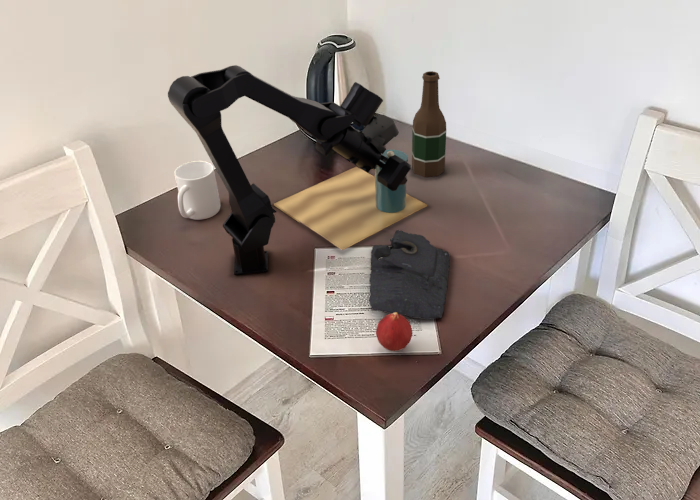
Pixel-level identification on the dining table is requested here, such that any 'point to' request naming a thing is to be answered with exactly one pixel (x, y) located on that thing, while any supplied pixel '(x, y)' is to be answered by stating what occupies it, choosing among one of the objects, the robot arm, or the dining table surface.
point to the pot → (383, 195)
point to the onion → (394, 332)
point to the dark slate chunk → (409, 277)
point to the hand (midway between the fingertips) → (395, 175)
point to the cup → (197, 190)
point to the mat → (344, 208)
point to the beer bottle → (429, 131)
